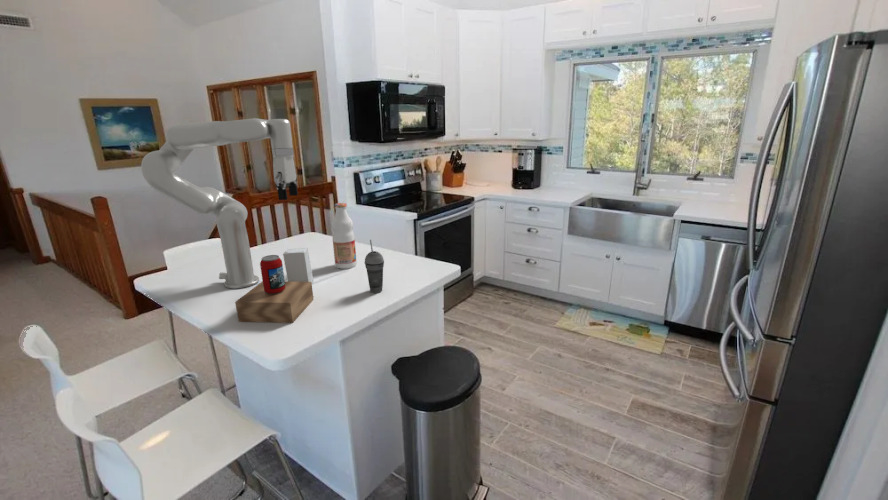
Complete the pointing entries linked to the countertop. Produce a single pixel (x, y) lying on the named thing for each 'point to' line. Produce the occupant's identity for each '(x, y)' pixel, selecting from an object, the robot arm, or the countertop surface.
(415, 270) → the countertop surface
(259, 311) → the walnut block
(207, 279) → the countertop surface
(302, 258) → the skincare box
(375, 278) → the beverage cup
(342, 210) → the fruit juice
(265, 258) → the beverage can
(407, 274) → the countertop surface
